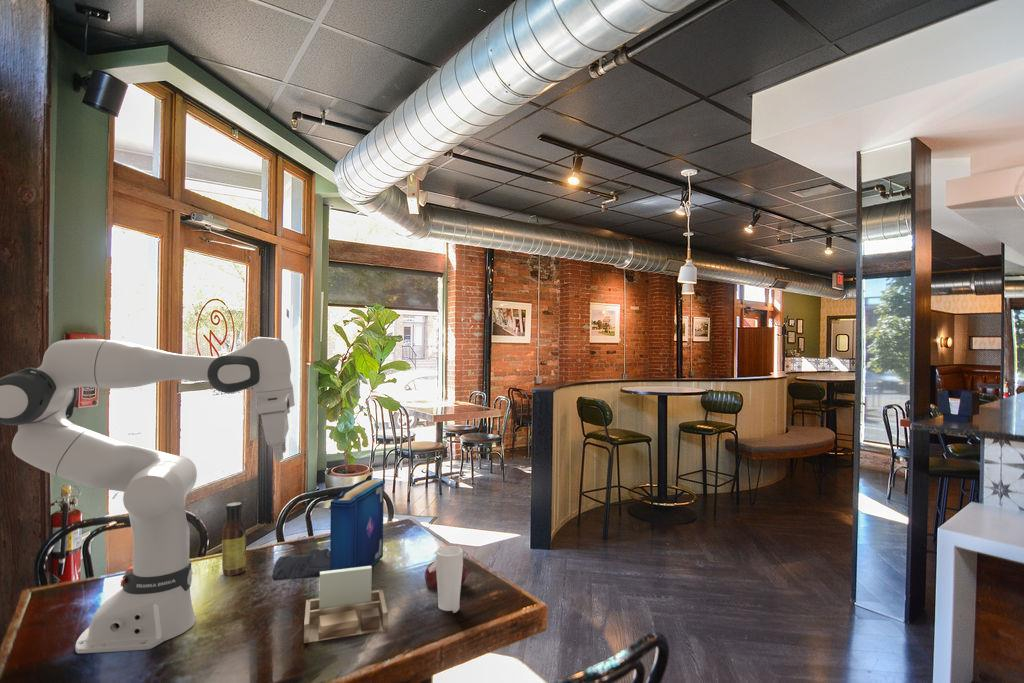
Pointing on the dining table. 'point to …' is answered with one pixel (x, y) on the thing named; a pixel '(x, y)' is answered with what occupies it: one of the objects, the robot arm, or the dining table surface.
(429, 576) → the heart
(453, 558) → the drinking glass
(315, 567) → the dark slate chunk
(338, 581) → the sheet
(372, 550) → the book
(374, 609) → the offcut small
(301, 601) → the dining table surface
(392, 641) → the dining table surface
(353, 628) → the offcut low
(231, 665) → the dining table surface
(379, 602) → the rack
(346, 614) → the offcut top
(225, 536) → the sauce bottle
